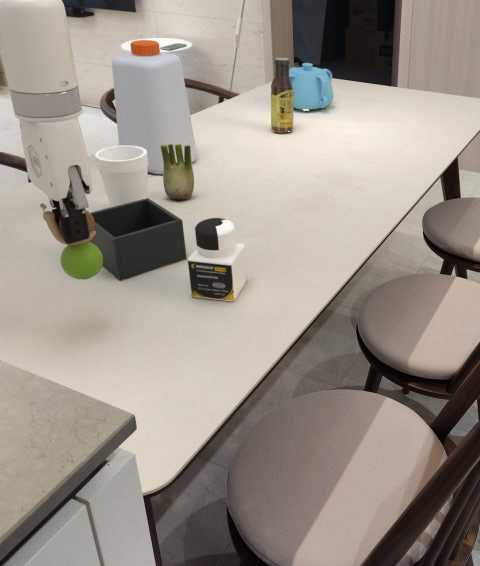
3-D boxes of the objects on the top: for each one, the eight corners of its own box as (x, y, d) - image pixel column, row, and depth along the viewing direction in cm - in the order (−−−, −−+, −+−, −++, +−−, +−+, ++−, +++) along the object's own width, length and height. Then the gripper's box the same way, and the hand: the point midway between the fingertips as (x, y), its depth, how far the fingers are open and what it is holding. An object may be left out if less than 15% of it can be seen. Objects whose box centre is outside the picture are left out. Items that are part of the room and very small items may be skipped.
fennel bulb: (198, 196, 138) (192, 142, 132) (186, 204, 134) (180, 149, 128) (174, 192, 139) (168, 138, 133) (161, 200, 135) (154, 145, 129)
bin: (119, 280, 106) (112, 239, 102) (88, 253, 113) (80, 214, 109) (186, 258, 113) (182, 219, 109) (153, 234, 121) (148, 197, 117)
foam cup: (98, 213, 128) (86, 151, 121) (141, 202, 133) (132, 142, 127) (120, 229, 122) (109, 165, 115) (164, 216, 128) (156, 154, 121)
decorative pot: (326, 116, 196) (326, 71, 189) (276, 111, 198) (275, 66, 191) (337, 103, 210) (338, 60, 203) (290, 99, 212) (289, 56, 205)
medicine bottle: (191, 297, 102) (183, 230, 96) (207, 276, 108) (200, 211, 102) (234, 302, 101) (229, 235, 95) (247, 280, 107) (243, 216, 101)
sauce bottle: (282, 135, 177) (280, 62, 167) (266, 131, 180) (263, 58, 170) (298, 131, 182) (297, 59, 172) (282, 126, 185) (281, 55, 175)
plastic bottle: (151, 150, 162) (136, 34, 148) (204, 158, 158) (193, 40, 144) (113, 168, 150) (92, 44, 135) (169, 178, 146) (154, 51, 132)
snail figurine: (51, 277, 89) (33, 198, 83) (96, 264, 93) (82, 187, 87) (65, 293, 86) (47, 211, 80) (112, 278, 90) (98, 200, 84)
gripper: (-9, 91, 79) (23, 224, 89) (39, 123, 70) (69, 268, 79) (53, 83, 84) (77, 211, 93) (105, 113, 75) (126, 251, 84)
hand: (73, 236), depth 86 cm, fingers closed on snail figurine
